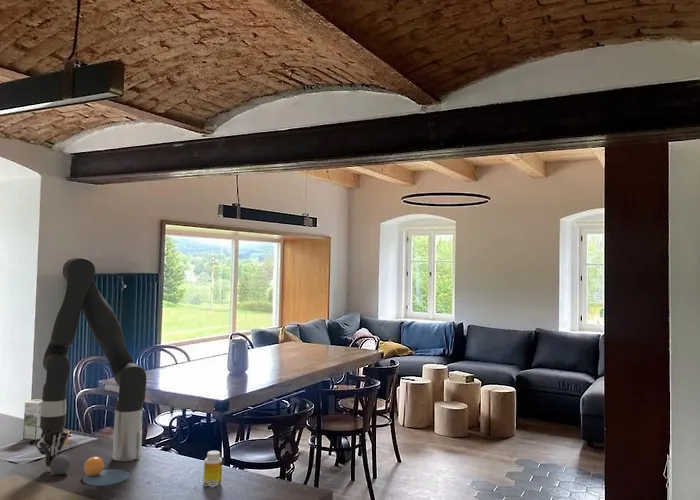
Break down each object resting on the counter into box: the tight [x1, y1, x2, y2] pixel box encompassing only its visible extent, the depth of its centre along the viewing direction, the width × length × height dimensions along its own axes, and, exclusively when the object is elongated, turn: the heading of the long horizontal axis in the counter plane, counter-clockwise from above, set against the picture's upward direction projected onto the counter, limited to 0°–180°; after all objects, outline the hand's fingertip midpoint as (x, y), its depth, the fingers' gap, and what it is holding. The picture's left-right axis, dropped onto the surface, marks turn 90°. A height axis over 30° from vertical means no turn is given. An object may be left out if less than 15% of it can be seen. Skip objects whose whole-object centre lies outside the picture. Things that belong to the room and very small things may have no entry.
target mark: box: [82, 468, 131, 487], centre depth 183 cm, size 14×14×1 cm
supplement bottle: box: [202, 450, 223, 487], centre depth 180 cm, size 6×6×10 cm
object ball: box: [83, 456, 105, 476], centre depth 184 cm, size 6×6×6 cm
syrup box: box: [22, 398, 42, 441], centre depth 221 cm, size 6×6×14 cm
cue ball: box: [49, 454, 72, 475], centre depth 184 cm, size 6×6×6 cm
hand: (50, 465), depth 187 cm, fingers closed
